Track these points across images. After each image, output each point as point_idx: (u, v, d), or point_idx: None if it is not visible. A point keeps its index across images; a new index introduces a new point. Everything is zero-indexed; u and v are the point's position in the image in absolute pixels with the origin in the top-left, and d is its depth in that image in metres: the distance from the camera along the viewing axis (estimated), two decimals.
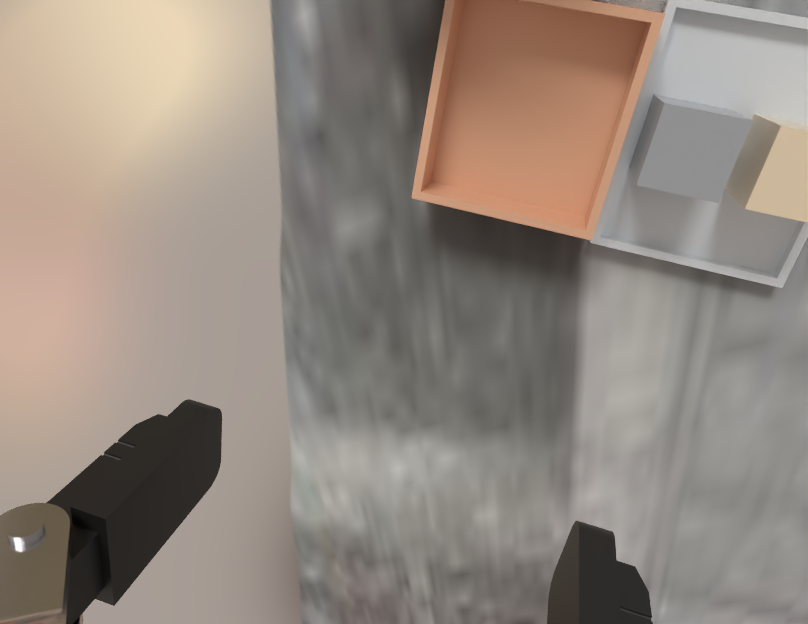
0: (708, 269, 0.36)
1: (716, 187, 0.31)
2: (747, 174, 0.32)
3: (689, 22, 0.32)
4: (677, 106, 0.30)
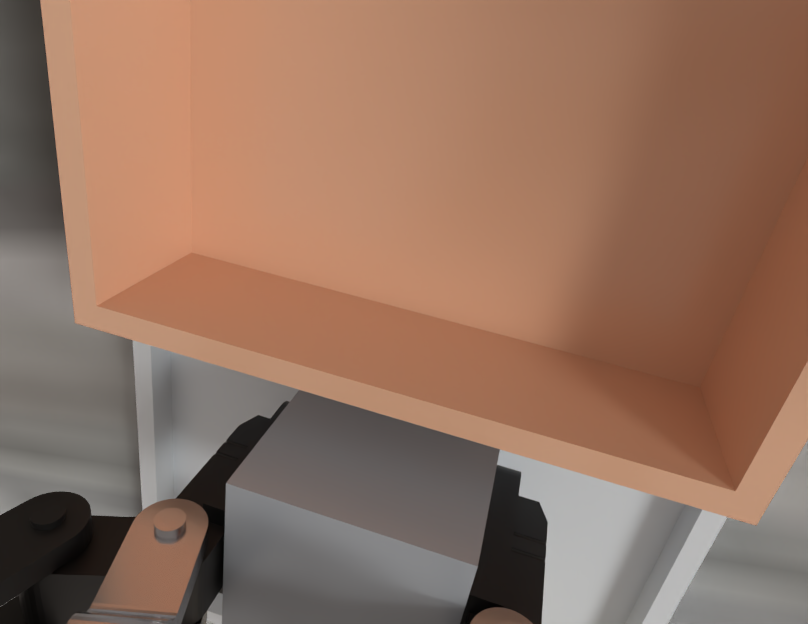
0: (144, 500, 0.17)
1: None
2: None
3: None
4: (466, 591, 0.09)
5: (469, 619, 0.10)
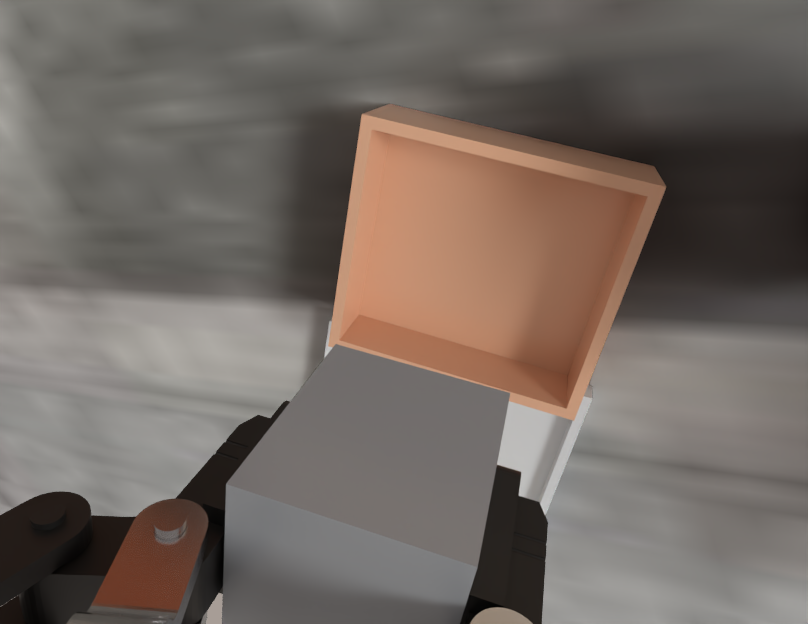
0: None
1: None
2: None
3: None
4: (466, 591, 0.09)
5: (469, 619, 0.10)
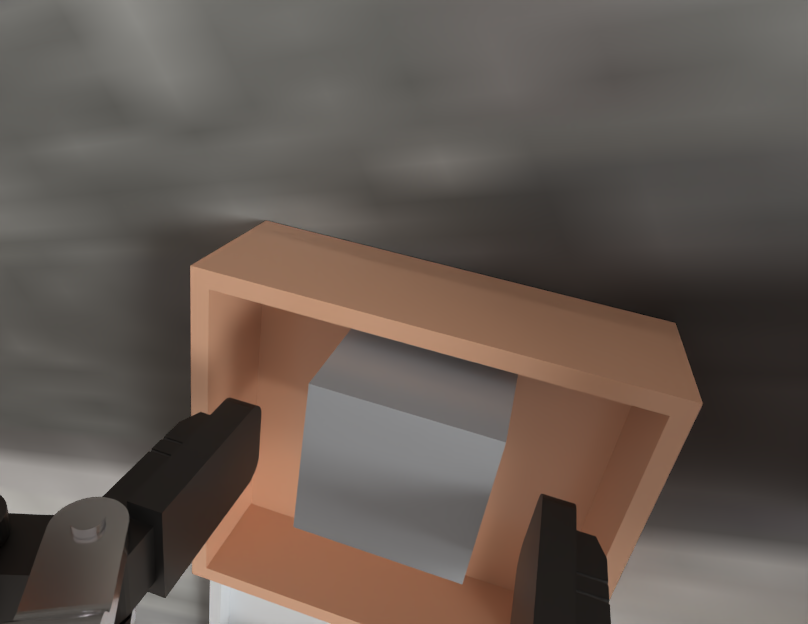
0: None
1: (323, 525, 0.14)
2: None
3: None
4: (496, 465, 0.12)
5: None
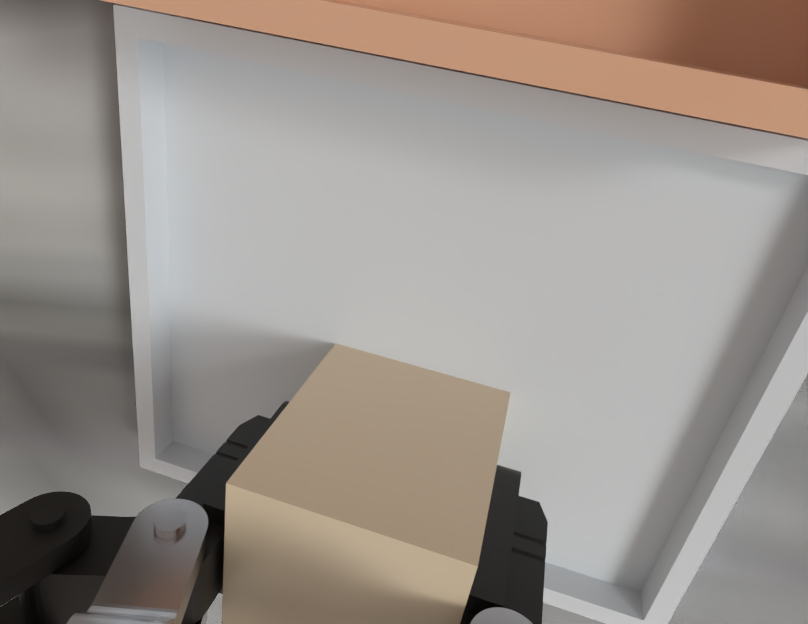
0: (135, 334, 0.14)
1: None
2: (347, 439, 0.11)
3: (788, 226, 0.11)
4: None
5: (469, 619, 0.10)
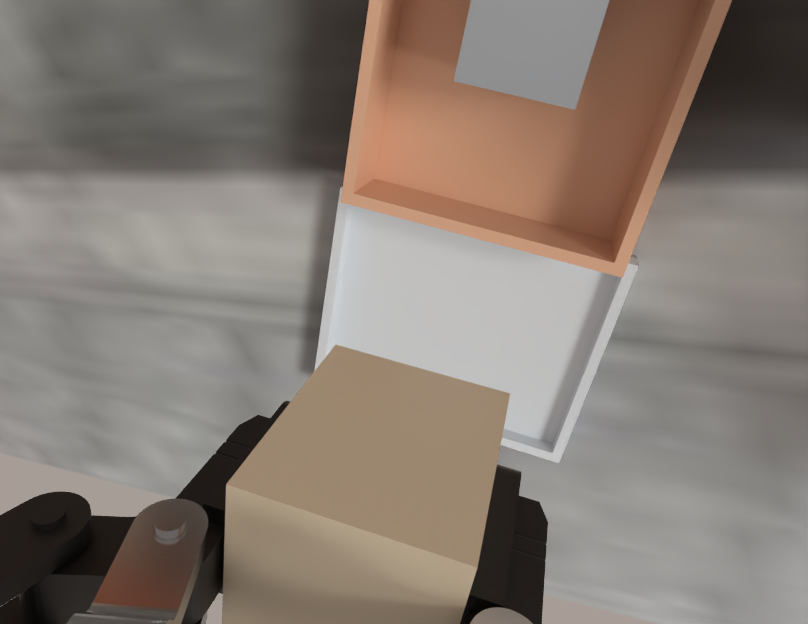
0: (323, 319, 0.31)
1: (477, 74, 0.20)
2: (347, 439, 0.11)
3: (602, 283, 0.28)
4: None
5: (469, 619, 0.10)
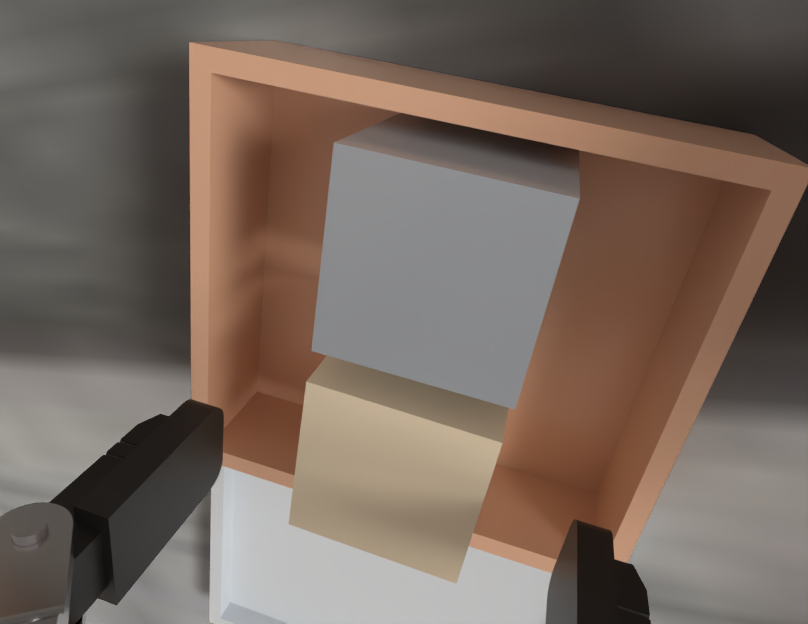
0: (212, 551, 0.23)
1: (348, 344, 0.12)
2: None
3: None
4: (565, 235, 0.10)
5: None
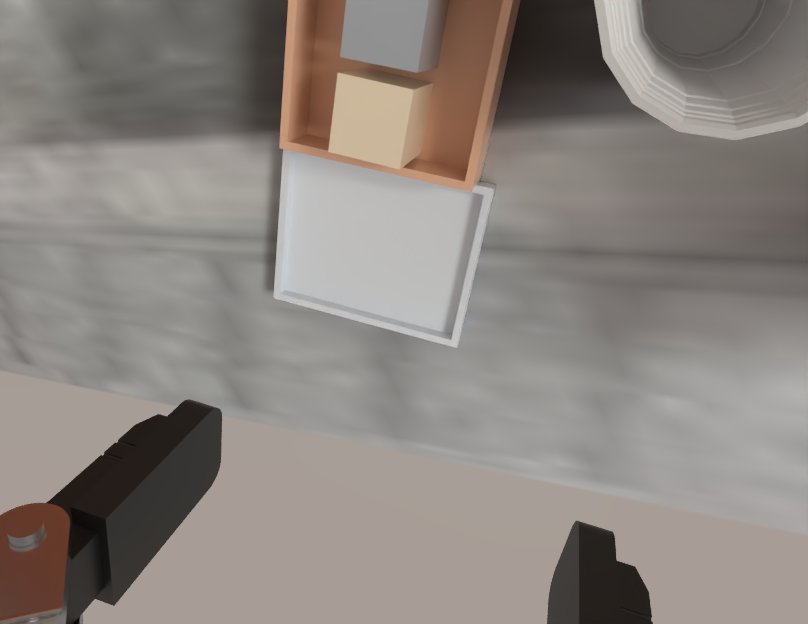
0: (278, 244, 0.42)
1: (354, 51, 0.31)
2: (374, 76, 0.33)
3: (473, 205, 0.38)
4: None
5: None
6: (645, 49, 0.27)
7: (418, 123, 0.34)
